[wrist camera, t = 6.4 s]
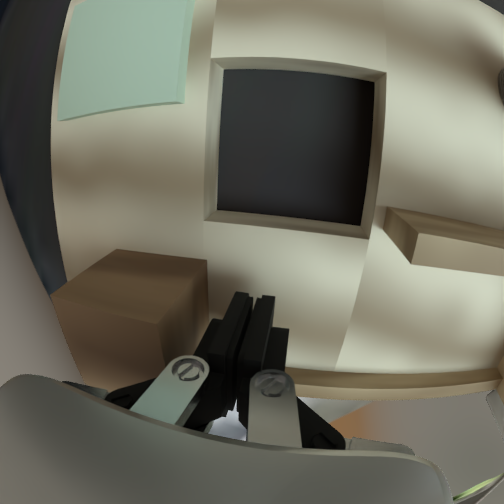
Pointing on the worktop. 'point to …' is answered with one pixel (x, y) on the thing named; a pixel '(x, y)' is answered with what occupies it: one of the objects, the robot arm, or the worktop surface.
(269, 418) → the robot arm
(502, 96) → the grey metal peg
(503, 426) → the medicine bottle
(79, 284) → the walnut cube
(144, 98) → the pad
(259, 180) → the worktop surface
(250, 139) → the worktop surface
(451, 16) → the board
